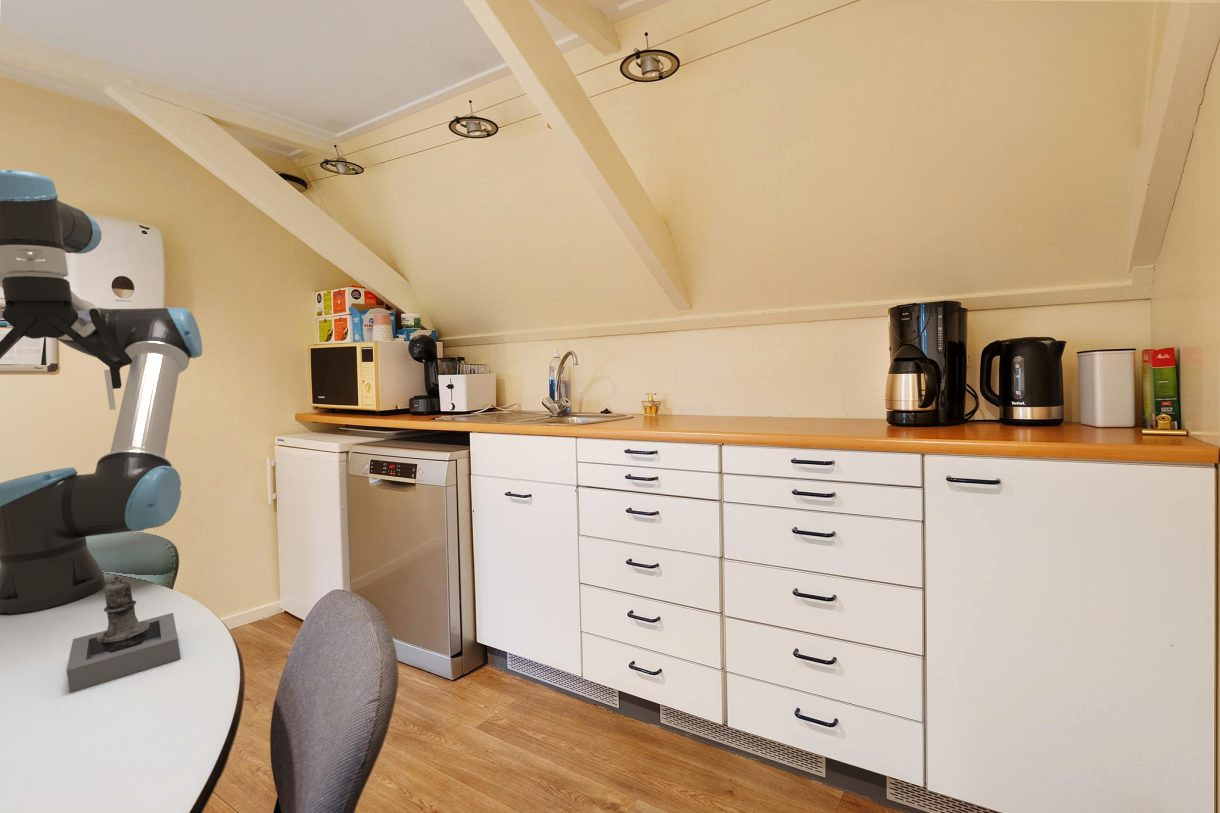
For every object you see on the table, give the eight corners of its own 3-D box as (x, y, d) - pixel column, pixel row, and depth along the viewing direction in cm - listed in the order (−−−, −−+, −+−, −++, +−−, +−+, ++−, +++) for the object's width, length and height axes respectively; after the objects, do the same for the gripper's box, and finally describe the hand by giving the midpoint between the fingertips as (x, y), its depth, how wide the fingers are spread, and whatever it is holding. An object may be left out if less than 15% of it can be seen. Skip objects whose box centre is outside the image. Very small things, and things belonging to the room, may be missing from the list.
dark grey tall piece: (123, 667, 80) (110, 583, 79) (89, 665, 81) (76, 582, 80) (163, 646, 86) (152, 567, 85) (131, 644, 87) (120, 566, 86)
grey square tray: (76, 658, 85) (73, 639, 84) (175, 631, 92) (173, 612, 92) (69, 692, 76) (66, 670, 75) (180, 658, 83) (177, 638, 83)
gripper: (-95, 271, 80) (-68, 425, 82) (139, 277, 95) (156, 406, 97) (-80, 278, 85) (-55, 422, 88) (138, 282, 101) (155, 404, 103)
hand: (56, 414), depth 93 cm, fingers open, 13 cm apart
